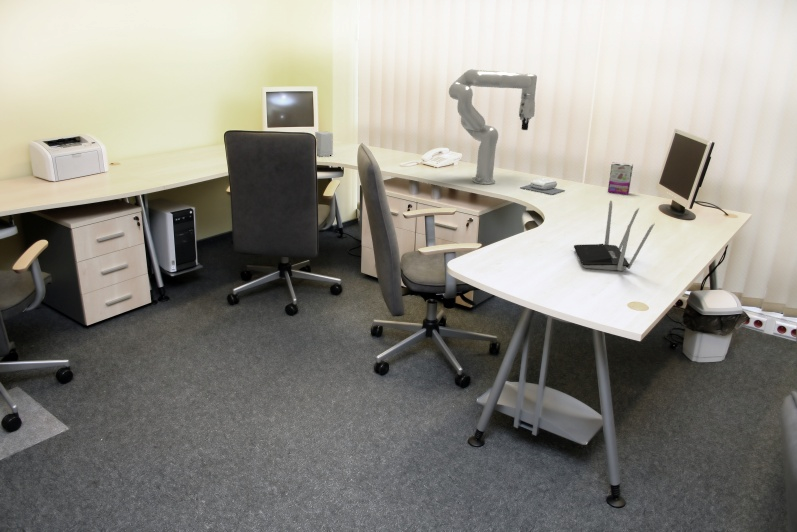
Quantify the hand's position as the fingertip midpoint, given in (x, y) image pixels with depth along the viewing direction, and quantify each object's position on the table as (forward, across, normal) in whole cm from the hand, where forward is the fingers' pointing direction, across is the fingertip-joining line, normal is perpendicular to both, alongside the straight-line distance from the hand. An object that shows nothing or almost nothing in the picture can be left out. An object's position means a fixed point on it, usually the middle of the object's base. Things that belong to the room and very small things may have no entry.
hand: (524, 129), depth 375 cm
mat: (+29, -12, -22) cm, 38 cm away
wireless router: (+29, -100, -100) cm, 145 cm away
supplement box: (+29, -40, +124) cm, 134 cm away
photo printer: (+26, -4, -22) cm, 34 cm away
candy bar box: (+29, +16, -54) cm, 63 cm away
